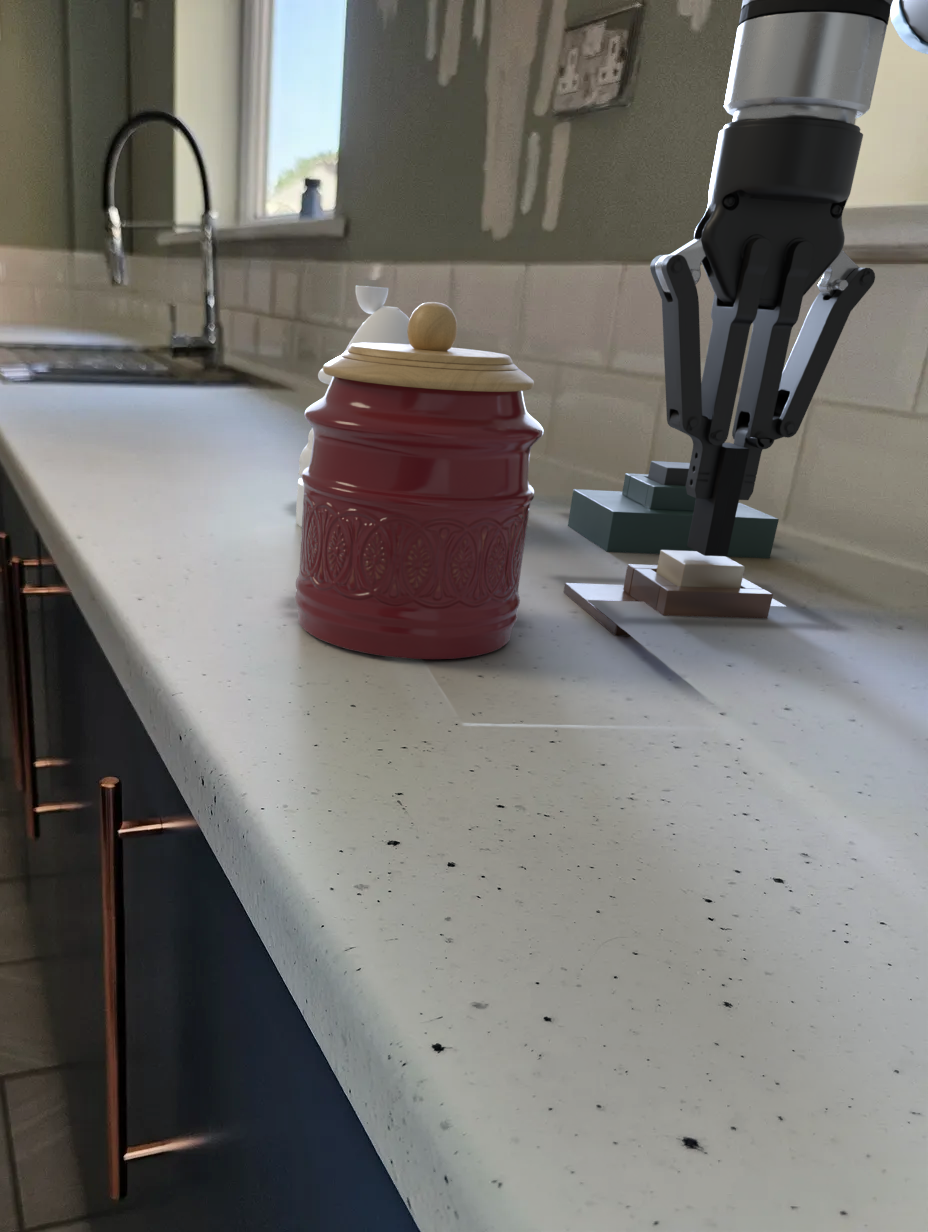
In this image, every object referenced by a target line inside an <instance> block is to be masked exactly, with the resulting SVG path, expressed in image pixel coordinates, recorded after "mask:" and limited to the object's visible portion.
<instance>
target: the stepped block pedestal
mask: <svg viewBox="0 0 928 1232" xmlns="http://www.w3.org/2000/svg"><path fill="white" fill-rule="evenodd" d="M657 566H658V564H642V563H641V564H637V563H633V564H632V563H628V564H627V567H626V570H625V571H626V572H625V578H624V583H623V584H612V583H611V584H607V583H581V582H580V583H579V582H565V583H564V586H563V594H565V595H566V596H567V597H568V598H569V599H571V600H572V601H573V602H574V603H575V604H577V605H578V607H580V608H581V609H582V610H583V611H585V612H586V613H587V614H588V615H590V616H591V617H592V618H593V619H595V620H596V621H597V622H598V623H599V624H600V625H602V626H603V627H604V628H605V629H606V630H608V631H609V632H610V634H612V635H614V636H619V637H620V636H621V637H622V636H623V637H631V636H632V635H631V634H629V633H628V632H627V631H626V630H624V628H622V627H621V626H620V625H618V624H617V623H616V622H615V621H613V620H612V619H611V618H610V617H608V616H607V615H606V614H605V613H604V612H602V611H601V610H600V609H598V608H597V607H596V606H595V605H593V603H591V602H590V601H609V602H610V601H612V602H613V601H614V602H638V603H639V602H640V603H641V602H642V603H645V604H646V605H648V606H649V607H650V608H652V609H654V611H656V612H658V613H659V614H661V615H662V616H665V617H666V616H667V617H669V616H670V617H697V618H698V617H699V618H701V617H703V618H729V619H730V618H731V619H759V620H761V619H762V620H763V619H764V620H767V619H768V618H769V613H770V609H771V607H786V604H784V603H782V602H780V601H778V600H776V599H774V598H773V596H774V594H773V593H771V592H770V591H768V590H766V589H764V588H762V587H760V586H759V585H757V584H755V583H753V582H751V581H749V580H748V579H746V578H744V577H743V578H742V583H741V587H740V588H712V587H683V586H677V585H675V584H673V583H672V582H670V581H669V580H667V579H666V578H664V577H662V576H661V575H659V574H658V573H656V571H657Z"/></svg>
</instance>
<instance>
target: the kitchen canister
mask: <svg viewBox="0 0 928 1232" xmlns="http://www.w3.org/2000/svg"><path fill="white" fill-rule="evenodd" d="M457 321H458V320H457V317H456V315H455V313H454V311H453V309H452V308H450V306H448V305H447V304H445V303H443V302H438V301H437V302H436V301H427V302H424V303H421V304H419V305H418V306H417V307H415V309H414V310H413V311H412V313H411V315H410V316H409V323H408V328H407V333H408V339H409V342H410V344H411V345H410V344H390V343H356V344H352V345H351V346H350V347H349V348H348V350H347V351H346V352H345V351H344V352H343V353H341V354H340V355H338V356H336V357H335V358H333V359H330V360H329V361H328V362H326V363H324V364H323V366H322V368H323V371H324V373H325V374H327V375H330V376H333V378H332V380H331V383H330V385H329V384H328V386H329V388H328V387H327V389H328V390H327V389H326V391H327V392H325V393H324V395H323V397H321V398H320V399H319V400H317V401H315V402H313V403H312V404H311V405H309V406H308V407H307V408H306V409H305V411H304V417H305V420H306V421H307V422H308V424H309V425H310V427H311V429H312V428H313V431H314V438H313V447H312V455H311V461H310V465H309V467H307V468H306V469H305V470H304V471H303V473H302V477H301V478H302V481H303V483H304V497H303V515H302V527H301V536H300V555H299V570H298V575H297V576H296V579H295V588H296V591H295V595H294V601H295V604H296V607H297V617H298V619H297V620H298V624H299V625H300V626H301V628H302V629H303V630H304V631H305V632H306V633H308V634H310V635H311V636H312V637H314V638H316V639H318V640H320V641H323V642H324V643H327V644H330V645H332V646H337V647H339V648H343V649H347V650H350V651H354V652H359V653H364V654H369V655H376V656H381V657H382V656H383V657H387V658H389V657H390V658H397V659H398V658H399V659H409V660H454V659H461V658H462V659H465V658H472V657H477V656H481V655H485V654H489V653H492V652H495V651H497V650H500V649H501V648H502V647H504V646H505V645H507V644H508V643H509V641H510V640H511V636H512V631H513V628H514V626H515V623H516V622H517V620H518V617H519V611H518V608H519V606H520V602H521V598H520V594H519V587H520V579H521V574H522V564H523V557H524V550H525V543H526V536H527V535H526V534H527V529H528V521H529V514H530V509H531V508H530V507H531V503H532V501H533V500H534V498H535V490H534V487H532V485H531V484H530V481H529V480H530V479H529V473H530V459H531V458H530V457H531V450H532V448H533V446H534V445H535V444H536V443H537V442H538V441H539V440H540V439H541V438H542V437H543V435H544V432H545V431H544V428H543V426H542V424H540V422H539V421H538V420H537V419H535V418H534V417H533V416H532V415H531V414H529V412H528V411H527V408H526V404H525V398H524V391H529V390H532V389H533V388H534V386H535V381H534V379H533V378H531V376H529V375H527V373H525V372H524V371H522V370H521V369H520V368H519V367H518V366H517V365H516V364H515V363H514V362H513V360H512V357H511V356H510V355H509V354H506V353H500V352H494V351H487V350H478V349H472V348H471V349H470V348H461V347H460V348H459V347H453V345H454V343H455V342H456V339H457V335H458V322H457Z"/></svg>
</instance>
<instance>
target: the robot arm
mask: <svg viewBox="0 0 928 1232" xmlns="http://www.w3.org/2000/svg"><path fill="white" fill-rule="evenodd" d="M740 9H741V11H740V16H739V21H738V27H737V29H736V36H735V41H734V46H733V47H734V48H733V53H732V59H731V64H730V70H729V76H728V82H727V88H726V93H725V99H724V103H723V104H724V105H723V108H724V109H725V111H726V113H727V114H729V115H731V116H732V121H731V122H728V123H726V124H725V125H724V126H723V128H722V129H721V130H719V132H718V136H717V142H716V148H715V153H714V159H713V164H712V171H711V177H710V182H709V186H708V187H709V189H708V202H707V208H706V210H705V213H704V215H703V216H702V218H701V219H700V221H699V222H698V224H697V226H696V227H695V229H694V233H693V239H692V240H690V241H689V242H687V243H685V244H683V245H682V246H681V247H679V248H678V249H676V250H674V251H673V252H671V253H669V254H659V255H657V256H655V257H654V258H653V259H652V260H651V262H650V267H649V269H650V274H651V276H652V279H653V281H654V283H655V286H656V289H657V291H658V294H659V296H660V299H661V312H662V314H661V315H662V317H661V318H662V337H663V338H662V339H663V358H664V359H663V360H664V361H663V362H664V383H665V384H664V386H665V406H666V408H665V409H666V410H665V411H666V422H667V425H668V426H669V427H670V428H672V429H675V430H677V431H678V432H681V433H683V434H685V435H687V436H689V438H690V439H691V440H692V450H691V456H690V460H689V463H690V466H689V471H688V477H687V482H686V490H687V494H688V495H690V496H692V497H695V498H696V502H695V507H694V512H693V517H692V523H691V528H690V533H689V538H688V544H687V546H688V547H689V548H691V549H693V550H695V551H697V552H699V553H701V554H702V555H704V556H727V555H728V550H729V546H730V541H731V536H732V531H733V526H734V521H735V517H736V512H737V507H738V502H739V503H740V501H749V500H750V498H751V496H752V495H753V493H754V489H755V485H756V479H757V475H758V471H759V465H760V461H761V456H762V453H763V450H767V449H769V448H771V447H772V445H773V444H774V442H775V441H776V440H779V439H782V438H788V439H789V438H792V437H794V436H795V435H796V434H797V433H798V431H799V430H800V427H801V425H802V422H803V421H804V418H805V416H806V413H807V411H808V409H809V407H810V404H811V402H812V400H813V398H814V396H815V392H816V391H817V389H818V386H819V384H820V381H821V380H822V377H823V375H824V373H825V372H826V371H825V370H826V368H827V366H828V363H829V362H830V360H831V357H832V355H833V353H834V351H835V348H836V346H837V343H838V341H839V339H840V337H841V335H842V332H843V331H844V328H845V326H846V324H847V321H848V319H849V316H850V314H851V312H852V311H853V309H854V308H856V306H857V305H858V304H859V302H860V301H861V300H862V299H863V297H864V296H865V295H866V294H867V293H868V291H869V290H870V289H871V288H872V287H873V285H874V283H875V280H876V274H875V271H874V270H873V269H872V268H871V267H861V266H858V265H857V264H856V263H855V262H854V260H853V259H852V258H851V257H850V256H849V255H848V254H847V253H846V252H845V251H844V250H843V248H844V245H845V231H844V226H843V213H844V209H845V207H846V204H847V202H848V200H849V199H850V195H851V192H852V188H853V183H854V178H855V173H856V170H857V166H858V161H859V155H860V151H861V147H862V143H863V138H864V134H863V133H862V132H861V130H862V129H861V127H860V126H858V125H856V124H855V122H856V119H859V118H861V117H862V116H863V115H865V114H866V113H867V112H868V111H870V109H871V104H872V100H873V95H874V90H875V85H876V80H877V77H878V72H879V66H880V62H881V57H882V51H883V49H884V48H883V47H884V44H885V43H884V42H885V38H886V32H887V27H888V25H889V21H890V22H891V24H892V26H893V28H894V29H895V31H896V33H897V35H898V36H899V38H900V39H901V41H903V43H905V44H906V45H907V46H908V47H909V48H910V49H913V50H914V51H917V52H919V53H921V54H925V55H928V0H742V3H741V8H740ZM701 265H702V267H703V270H704V272H705V274H706V277H707V279H708V281H709V283H710V286H711V289H712V291H713V293H714V295H713V299H712V304H711V311H710V319H711V321H712V322H711V323H712V324H711V330H710V335H709V339H708V345H707V351H706V356H705V362H704V367H703V372H702V365H701V364H702V363H701V362H702V361H701V359H702V358H701V327H700V326H701V325H700V301H699V294H698V288H697V284H698V282H699V281H700V280H701V277H702V274H701V273H702V272H701ZM821 276H822V277H821ZM820 278H821V279H820ZM819 279H820V280H819ZM818 280H819V281H818ZM817 281H818V284H817V289H818V290H819V293H818V294H817V296H816V297H815V299H814V300H813V302H812V304H811V306H810V308H809V310H808V312H807V315H806V317H805V319H804V321H803V323H802V326H801V328H800V331H799V332H798V335H797V337H796V340H795V343H794V345H793V347H792V350H791V352H790V355H789V357H788V358H787V353H788V348H789V344H790V339H791V334H792V329H793V327H794V326H795V325H796V323H797V322H798V321H799V317H800V313H801V307H802V303H803V298H804V296H805V295H806V294H807V293H808V292H809V290H810V289H811V288H812V287H813V286H814V285H815V284H816V282H817ZM751 325H752V328H751ZM750 329H752V330H750ZM750 331H751V334H750ZM749 335H750V339H749ZM748 339H749V344H748ZM747 345H748V349H747V354H746V348H747ZM745 354H746V360H745V365H744V370H743V376H742V380H741V385H740V390H739V396H738V401H737V406H736V411H735V415H734V421H733V426H732V431H731V436H732V439H733V443H732V442H726V441H727V440H728V437H729V433H730V429H731V424H732V419H733V418H732V417H733V413H734V410H735V409H734V408H735V403H736V398H737V395H738V388H739V384H740V379H741V375H742V369H743V364H744V358H745ZM786 358H787V361H786ZM785 362H786V363H785Z"/></svg>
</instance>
